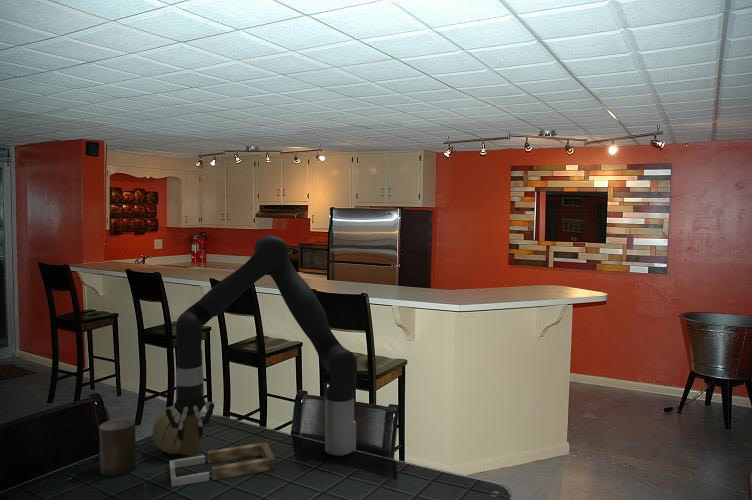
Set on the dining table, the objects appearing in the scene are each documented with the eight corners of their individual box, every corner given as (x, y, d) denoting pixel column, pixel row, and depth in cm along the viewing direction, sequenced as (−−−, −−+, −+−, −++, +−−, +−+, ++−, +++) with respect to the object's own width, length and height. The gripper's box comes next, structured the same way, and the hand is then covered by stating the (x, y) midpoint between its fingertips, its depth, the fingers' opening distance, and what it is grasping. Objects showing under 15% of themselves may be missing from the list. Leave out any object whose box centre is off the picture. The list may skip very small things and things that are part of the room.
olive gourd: (194, 455, 155) (194, 417, 154) (175, 453, 156) (175, 416, 156) (205, 447, 161) (205, 410, 160) (186, 445, 162) (186, 408, 162)
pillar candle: (142, 468, 162) (141, 419, 161) (107, 480, 154) (106, 427, 154) (128, 459, 168) (127, 411, 168) (94, 469, 161) (93, 419, 160)
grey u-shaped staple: (204, 461, 167) (204, 455, 167) (209, 480, 155) (209, 473, 155) (169, 467, 163) (169, 460, 163) (171, 486, 151) (171, 479, 151)
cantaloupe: (146, 450, 174) (145, 404, 173) (190, 438, 184) (190, 395, 183) (164, 466, 163) (163, 417, 162) (210, 452, 173) (209, 406, 172)
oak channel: (266, 451, 174) (266, 442, 174) (275, 469, 162) (275, 459, 162) (207, 460, 167) (207, 451, 167) (212, 480, 155) (212, 469, 155)
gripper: (213, 375, 164) (214, 431, 165) (163, 380, 158) (163, 438, 159) (216, 382, 157) (217, 440, 158) (163, 387, 151) (164, 448, 152)
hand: (190, 439), depth 158 cm, fingers closed on olive gourd, 4 cm apart
